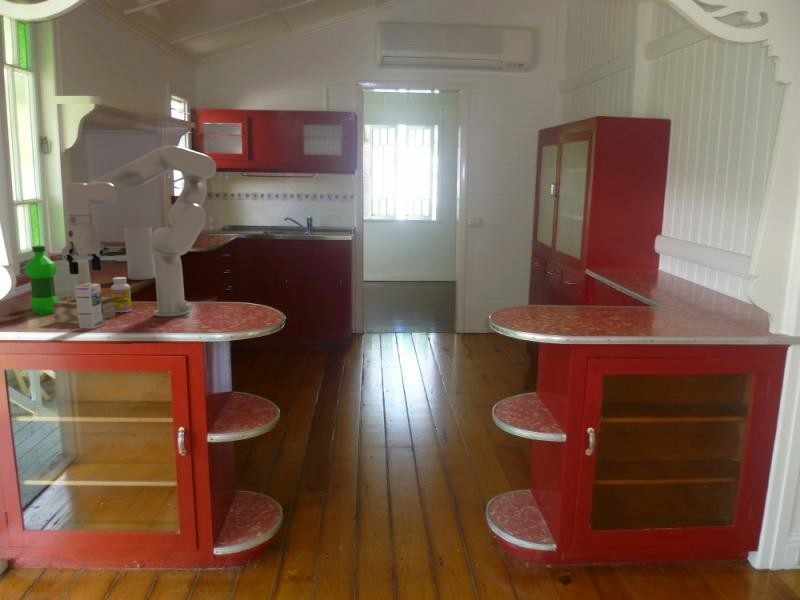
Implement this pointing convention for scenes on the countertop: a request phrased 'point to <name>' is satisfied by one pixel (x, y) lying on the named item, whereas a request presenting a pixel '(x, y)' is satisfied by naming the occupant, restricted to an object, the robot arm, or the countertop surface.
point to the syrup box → (89, 306)
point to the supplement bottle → (121, 295)
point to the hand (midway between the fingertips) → (85, 272)
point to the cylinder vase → (139, 253)
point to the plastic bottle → (41, 281)
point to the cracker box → (69, 275)
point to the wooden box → (69, 312)
